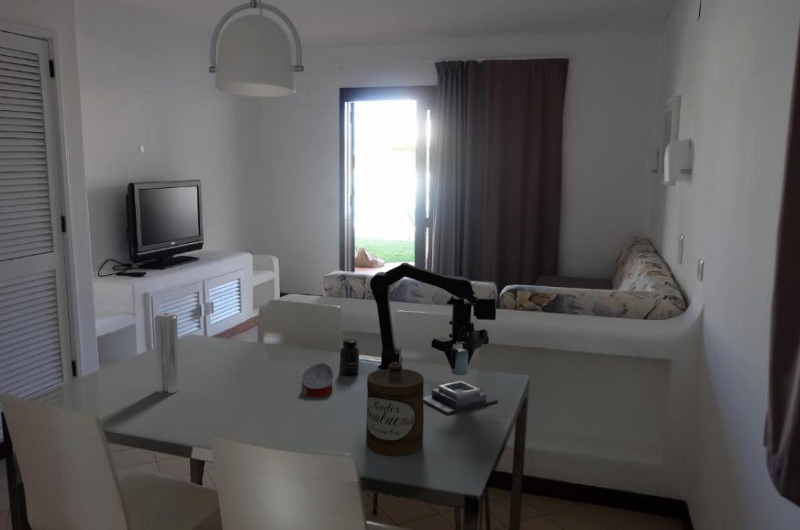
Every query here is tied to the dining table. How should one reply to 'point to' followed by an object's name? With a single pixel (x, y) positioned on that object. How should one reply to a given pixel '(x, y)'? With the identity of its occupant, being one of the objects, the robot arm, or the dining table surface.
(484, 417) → the dining table surface
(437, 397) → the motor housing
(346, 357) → the supplement bottle
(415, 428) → the wooden container
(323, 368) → the canned food
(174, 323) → the silver metal cylinder
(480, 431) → the dining table surface
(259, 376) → the dining table surface
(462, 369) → the cylinder
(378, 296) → the robot arm
